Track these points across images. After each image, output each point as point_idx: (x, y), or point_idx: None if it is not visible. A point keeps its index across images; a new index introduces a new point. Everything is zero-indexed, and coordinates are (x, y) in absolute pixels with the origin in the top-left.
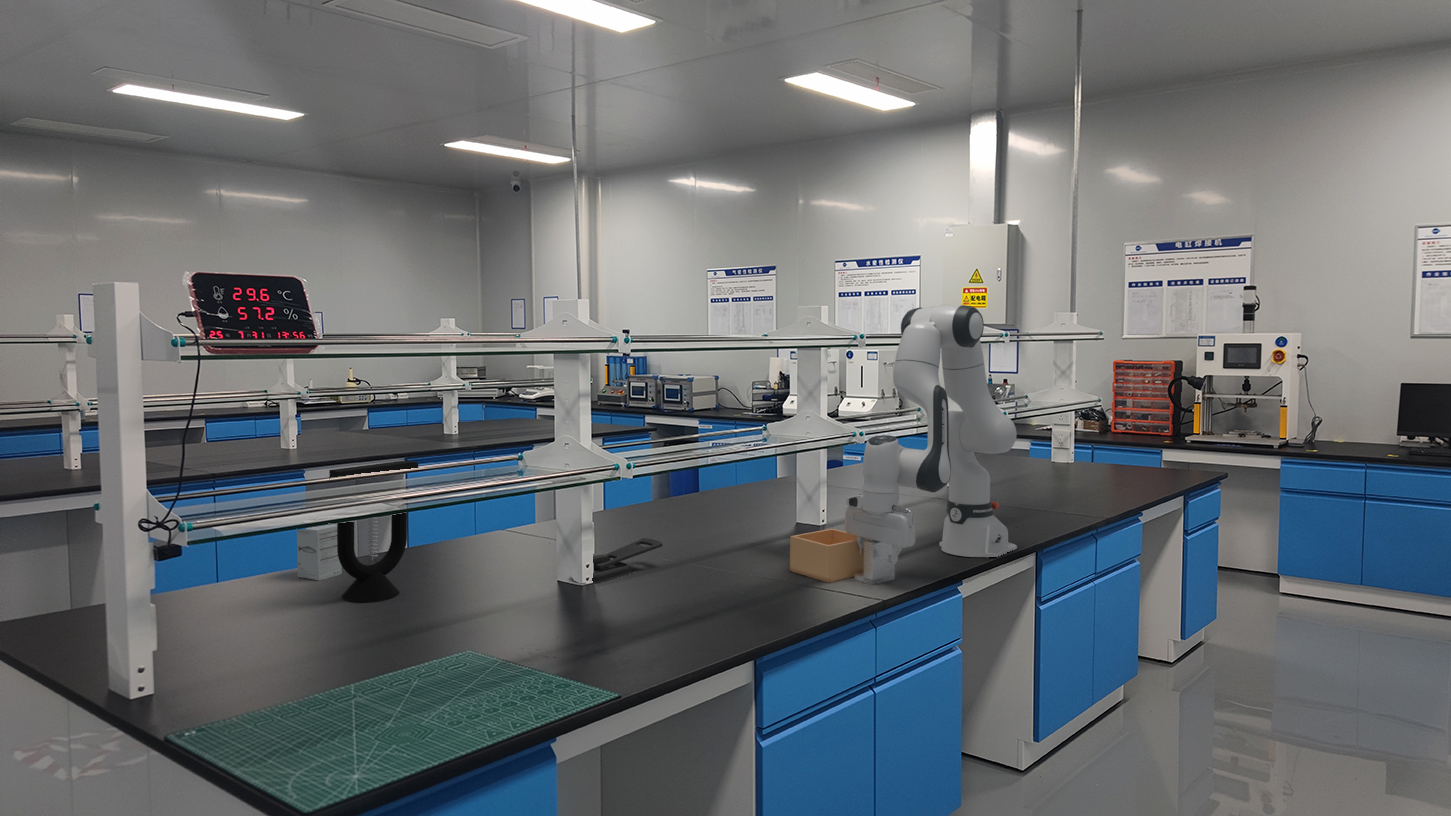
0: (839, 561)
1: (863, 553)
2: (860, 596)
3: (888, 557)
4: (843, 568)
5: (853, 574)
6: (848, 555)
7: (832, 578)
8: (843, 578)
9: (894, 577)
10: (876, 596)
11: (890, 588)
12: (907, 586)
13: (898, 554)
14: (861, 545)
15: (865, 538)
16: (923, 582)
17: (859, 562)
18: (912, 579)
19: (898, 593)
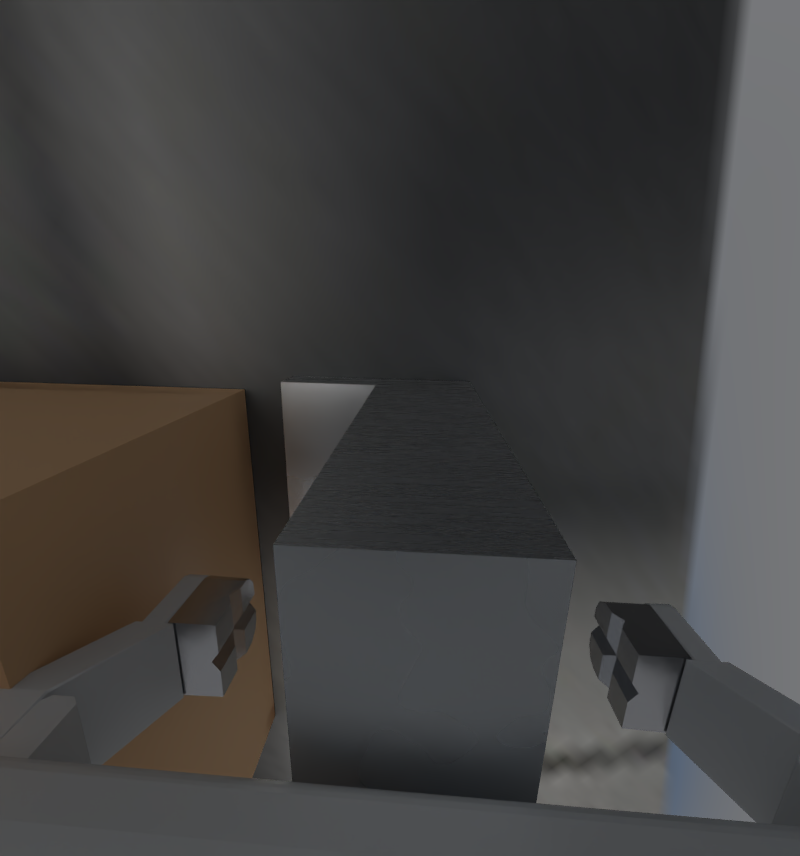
0: (214, 764)
1: (240, 648)
2: (554, 770)
3: (611, 702)
4: (237, 673)
5: (252, 549)
6: (181, 720)
7: (265, 704)
8: (264, 619)
9: (469, 385)
10: (616, 725)
11: (585, 570)
12: (645, 459)
13: (747, 683)
14: (150, 713)
15: (60, 741)
16: (684, 278)
17: (210, 543)
18: (569, 277)
19: (682, 613)
